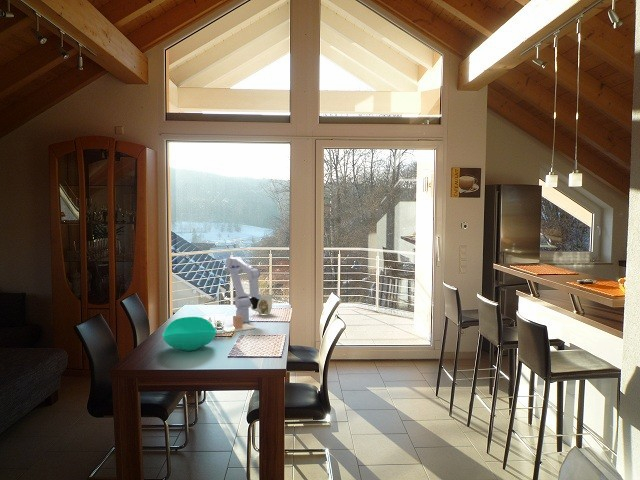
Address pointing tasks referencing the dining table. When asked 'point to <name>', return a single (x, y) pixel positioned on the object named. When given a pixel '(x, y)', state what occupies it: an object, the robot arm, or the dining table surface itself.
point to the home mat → (244, 328)
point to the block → (237, 322)
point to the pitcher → (264, 304)
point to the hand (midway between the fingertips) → (254, 309)
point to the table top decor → (189, 333)
